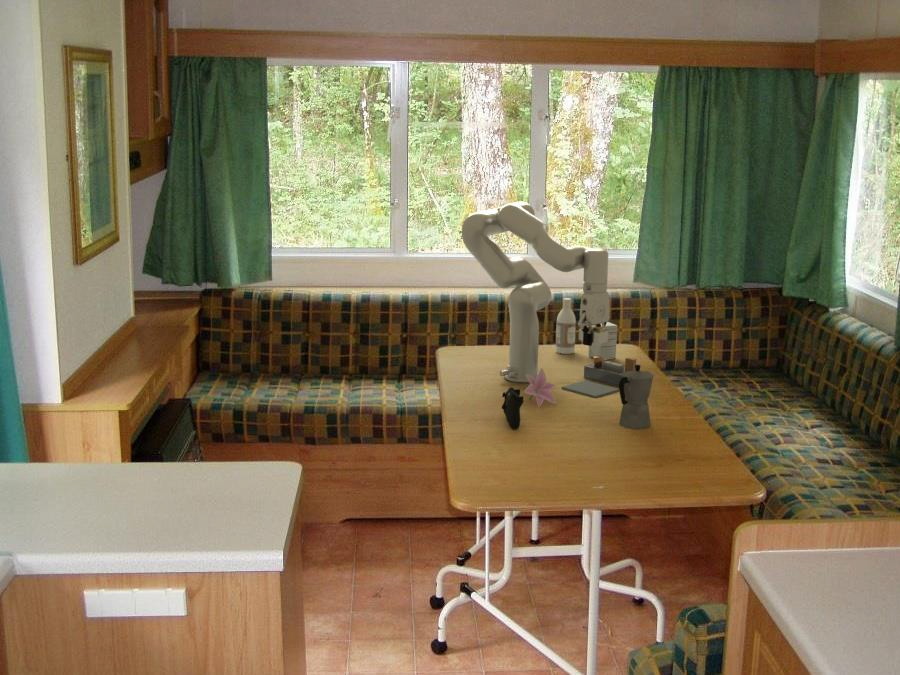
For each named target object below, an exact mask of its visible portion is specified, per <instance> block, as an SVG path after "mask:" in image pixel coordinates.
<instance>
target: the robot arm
mask: <svg viewBox="0 0 900 675" xmlns="http://www.w3.org/2000/svg"><path fill="white" fill-rule="evenodd" d="M506 232H510V233H511V234H513V235H514V236H516V237H518V238H520V240H523V241H524V242H525V243H527V244H528V245H530V246H531V247H532V248H533V251H534V252H535V253H536V255H537V256H538V258H540V259H541V260H543V262H544V263H546V264H548V265H549V266H551V267H552V268H554V269H556V270H557V271H559V272H562V273H570V272H574V271H577V270H580V269H581V270H582V269H583V279H582V280H583V282H582V283H583V285H582V294H581V299H580V300H581V301H580V309H579V320H578V323H577V326H578V327H579V329H581V330H582V332H583V341H582V345H584V346H588V347H589V346H592V334H591V330H592V325H595V326H597V327H602V328H605V326H606V323H607V322H610V317H611V316H610V312H611V311H610V310H611V309H610V304H611V303H610V296H609V295H610V294H609V291H608V274H609V273H608V272H609V252H608V250H606V249H605V248H599V247H598V248H597V247H593V248H592V247H587V246H584V245H579V244H578V245H577V244H576V245H572V246H567V247H564V246H563V245H561V244H559V243H558V242H556V241H555V240H553V238H552V237H550V236H549V226H548V224H547V223H546V222H544V221H542V220H541V219H540V218H538V217H537V216H535V210H534V208H533V207H532V205H531V204H529V203H528V202H525V201H517V202H511V203H507V204H505V205H503V206H501V207H497V208H492V209H487V210H479V211H476V212H473V213H470V214H469V215H467V217H466V218H465V219H464V221H463V223H462V226H461V238H462V241H463V244H464V245H465V248H466V249H467V251H468V252H469V253H470V254H471V256H473V257H474V259H475V260H476V261H477V262H478V263H479V264H480V266H481V267H482V269H483V270H484V271H485V272H486V274H487V275H488V276H489V278H490V279H492V280H493V282H494V283H495V285H496V286H497V287H499V288H501V289H510V288H513V290H511V291H510V293H509V296H508V300H507V304H508V305H507V306H508V312H509V353H508V354H509V358H508V361H509V362H508V365H507V367H506V369H503V370H500V371H499V376H500V377H504V378H505V380H508V381H509V382H513V383H530V382H529V380H528V379H527V377H526V374H528V375H530V376H532V377H534V378H535V379H536V376H537V374H538V372H539V370H538V366H539V364H538V363H539V362H538V361H539V338H540V337H539V336H540V333H539V331H540V324H539V318H538V314H537V311H539V310H541V309H544V308H546V307H547V306H548V305H550V303H551V300H552V290H551V288H550V287H549V285H548V283H547V282H546V281H545V280H544V279H543V277H542V276H541V274H539V272H538V271H537V270H536V269H535V268H534V266H533V265H532V264H531V263H530V262H529V261H528V260H526V259H525V258H523V257H520V256H513V257H509V256H507V254H505V252H504V251H503V249H501V247H500V246H499V245H498V244H497V243H496V242H494V241H492V239H490V238H489V236H493V235H498V234H502V233H506ZM514 287H515V288H514ZM588 326H589V327H588ZM587 327H588V328H587Z"/></svg>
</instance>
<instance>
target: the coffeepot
mask: <svg viewBox="0 0 900 675" xmlns="http://www.w3.org/2000/svg"><path fill="white" fill-rule="evenodd" d="M641 366H642V365H640V364H636V365H635V369H636V371H627V372H623V373H622V374H621V380H620V382H619V387H618V389H619V395H620V396H619V397H620V400H621V404H622V408H621V413H620V417H619V421H618V424H619V425H620V426H622V427H623V428H627V429H631V430H643V429H647V428H650V426H651V417H650V407H649V403H648V402H649V401H648V400H649V398H650V394H651V389H652V385H653V380H654V374H653V373H652V371H647V370H641Z"/></svg>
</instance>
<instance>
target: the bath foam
mask: <svg viewBox="0 0 900 675" xmlns="http://www.w3.org/2000/svg"><path fill="white" fill-rule="evenodd" d="M556 318H557V319H556V330H555V352H556V353H557V354H560V353H561V354H560V355H572V354H574V353H575V349H576V348H575V347H576V330H577V329H576V327H577V326H576V325H577V321H576V315H575V313H574V311H573V310H572V298H570V297H564V298H562V308H561V310H560V312H559V313H558V314H557V317H556ZM571 353H572V354H571Z"/></svg>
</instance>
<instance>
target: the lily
mask: <svg viewBox="0 0 900 675" xmlns="http://www.w3.org/2000/svg"><path fill="white" fill-rule="evenodd" d="M537 372H538V374H537V376H536V379H535V378H534V377H532V376H530V375H528V374H526V377H527V379H528V380H529V382H528V383H529V385H528V386H526V388H525V390H524V394H526V395H530V397H529V401H530V400H531V399H532V398H533V396H535V400H536V403H537V407H538V408H541V406H542V404H543V402H544V400H545V401H547V402H550V403H552V404H554V405H557V401H556V398H555V396H554V394H553V393H552V392H551V391H552V390H553V389H554V388H555V384H554V383H551V382H547V376H546V372H545V371H544V369H543V367H541V368H540V369H539V370H538V371H537Z"/></svg>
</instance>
